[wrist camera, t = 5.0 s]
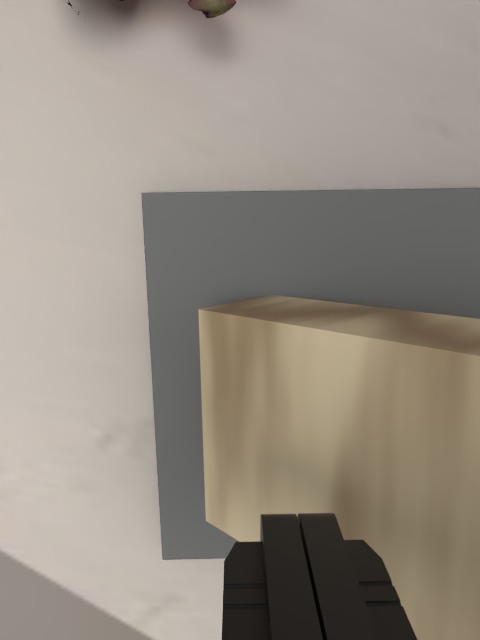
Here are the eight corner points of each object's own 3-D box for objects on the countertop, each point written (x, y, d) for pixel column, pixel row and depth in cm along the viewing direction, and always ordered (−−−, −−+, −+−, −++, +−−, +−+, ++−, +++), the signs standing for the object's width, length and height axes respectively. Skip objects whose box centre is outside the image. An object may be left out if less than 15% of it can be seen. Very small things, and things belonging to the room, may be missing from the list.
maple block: (273, 294, 18) (693, 343, 10) (273, 476, 20) (635, 642, 12) (198, 309, 15) (702, 392, 7) (205, 520, 17) (623, 777, 9)
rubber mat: (573, 187, 18) (584, 186, 17) (527, 541, 21) (535, 550, 21) (144, 193, 18) (141, 193, 17) (164, 550, 21) (162, 559, 21)
